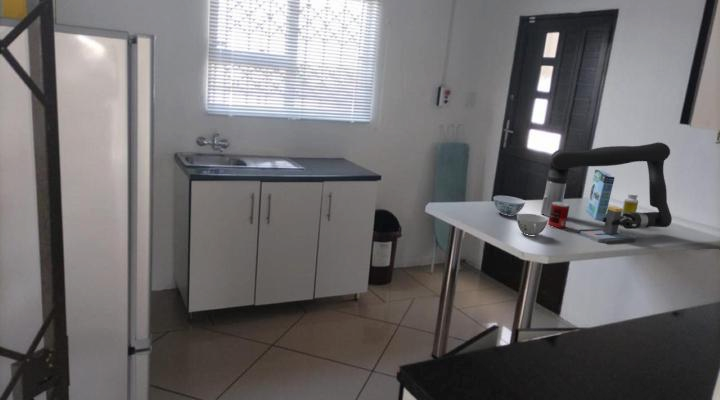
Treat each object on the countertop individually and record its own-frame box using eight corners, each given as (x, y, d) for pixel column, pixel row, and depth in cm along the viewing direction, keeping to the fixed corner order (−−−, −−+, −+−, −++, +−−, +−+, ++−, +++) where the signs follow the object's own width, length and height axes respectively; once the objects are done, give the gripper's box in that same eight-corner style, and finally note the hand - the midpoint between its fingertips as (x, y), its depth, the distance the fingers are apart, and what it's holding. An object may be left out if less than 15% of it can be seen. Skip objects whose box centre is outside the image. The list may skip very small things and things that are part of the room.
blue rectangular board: (614, 232, 242) (614, 229, 241) (632, 239, 233) (633, 236, 232) (579, 234, 232) (580, 231, 232) (597, 241, 224) (598, 238, 223)
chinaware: (485, 212, 256) (487, 197, 254) (502, 209, 266) (504, 194, 264) (511, 220, 246) (514, 204, 244) (528, 216, 256) (531, 201, 254)
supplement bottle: (636, 220, 273) (641, 196, 269) (622, 218, 274) (628, 194, 271) (632, 216, 279) (637, 193, 276) (619, 215, 280) (624, 192, 277)
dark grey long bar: (632, 241, 231) (633, 238, 230) (635, 242, 230) (635, 239, 229) (603, 242, 223) (604, 239, 223) (606, 243, 222) (606, 240, 222)
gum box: (585, 210, 282) (594, 169, 277) (595, 212, 282) (604, 170, 276) (594, 219, 264) (604, 175, 258) (605, 221, 263) (615, 177, 258)
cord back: (606, 231, 243) (607, 228, 243) (608, 232, 242) (609, 229, 242) (578, 232, 236) (578, 229, 235) (580, 233, 234) (581, 230, 234)
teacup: (512, 228, 231) (515, 211, 229) (541, 232, 230) (544, 215, 228) (517, 238, 217) (520, 220, 215) (548, 242, 215) (551, 224, 213)
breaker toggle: (609, 231, 236) (614, 206, 233) (616, 234, 232) (622, 208, 229) (602, 231, 234) (608, 206, 231) (610, 234, 230) (616, 209, 227)
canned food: (564, 225, 246) (569, 203, 243) (565, 229, 238) (570, 206, 236) (547, 222, 248) (552, 200, 245) (547, 226, 241) (552, 203, 238)
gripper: (623, 208, 243) (596, 208, 236) (650, 216, 230) (623, 217, 223) (619, 223, 245) (593, 224, 237) (646, 233, 232) (619, 234, 225)
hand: (608, 221), depth 230 cm, fingers closed on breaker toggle, 4 cm apart
